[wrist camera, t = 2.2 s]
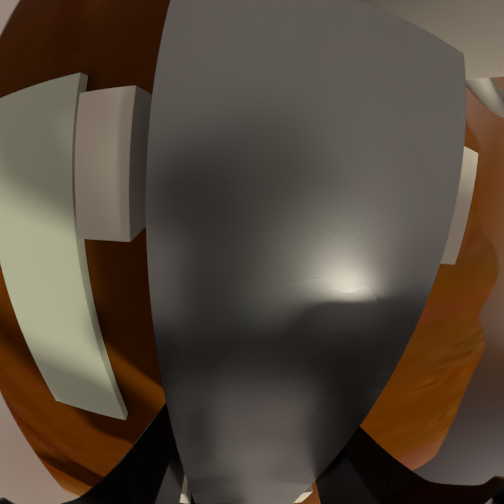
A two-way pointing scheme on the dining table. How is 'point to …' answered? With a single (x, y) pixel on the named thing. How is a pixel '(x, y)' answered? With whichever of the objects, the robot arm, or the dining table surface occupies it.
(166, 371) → the rail
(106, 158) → the rack
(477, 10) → the mug
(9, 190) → the mat
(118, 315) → the dining table surface
